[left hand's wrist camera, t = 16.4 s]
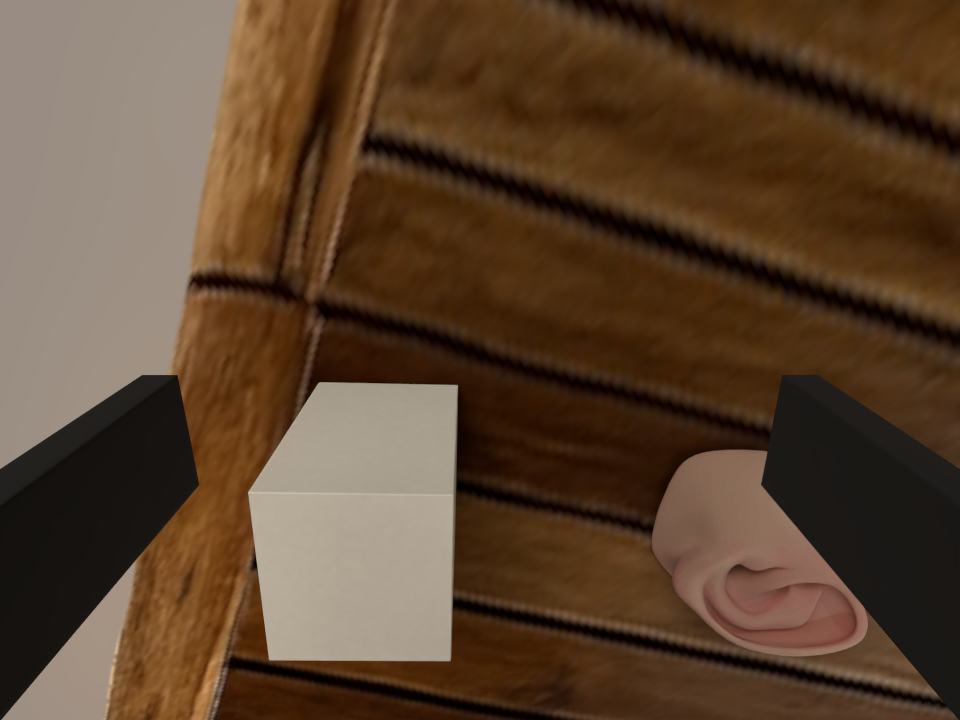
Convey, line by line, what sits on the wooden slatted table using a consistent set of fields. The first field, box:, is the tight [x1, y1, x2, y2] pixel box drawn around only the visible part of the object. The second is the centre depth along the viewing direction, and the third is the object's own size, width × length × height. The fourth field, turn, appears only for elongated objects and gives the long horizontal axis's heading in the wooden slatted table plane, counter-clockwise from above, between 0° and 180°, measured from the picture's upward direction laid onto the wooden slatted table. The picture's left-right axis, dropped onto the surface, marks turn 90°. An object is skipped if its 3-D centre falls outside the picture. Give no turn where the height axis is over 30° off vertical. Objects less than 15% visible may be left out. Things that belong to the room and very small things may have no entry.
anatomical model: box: [652, 450, 868, 657], centre depth 33 cm, size 13×4×12 cm
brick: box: [248, 382, 458, 661], centre depth 27 cm, size 8×8×11 cm
